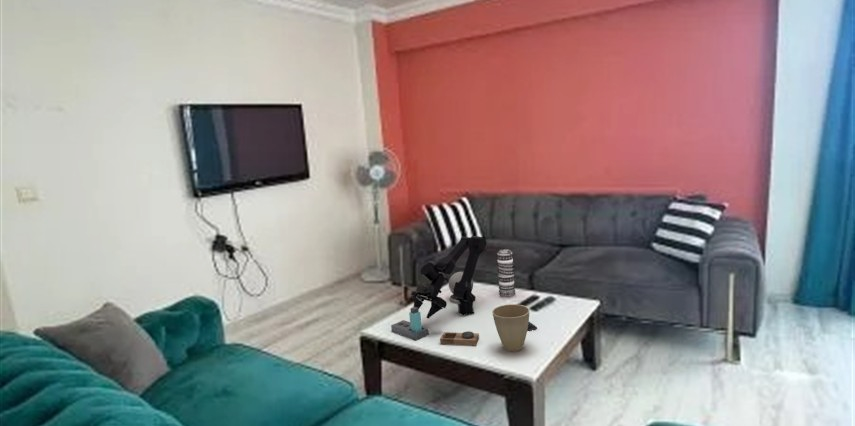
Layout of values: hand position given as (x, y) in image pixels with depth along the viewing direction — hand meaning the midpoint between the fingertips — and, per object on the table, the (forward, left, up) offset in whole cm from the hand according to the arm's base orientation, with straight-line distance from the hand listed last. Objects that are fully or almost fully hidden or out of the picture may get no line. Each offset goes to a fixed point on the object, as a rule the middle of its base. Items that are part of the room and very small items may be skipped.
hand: (420, 315), depth 229 cm
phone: (-44, +9, -9) cm, 46 cm away
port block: (+5, -2, -8) cm, 10 cm away
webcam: (-28, -35, -9) cm, 46 cm away
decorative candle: (-51, -29, -8) cm, 60 cm away
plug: (+3, +2, -8) cm, 9 cm away
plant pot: (-32, +29, -8) cm, 44 cm away
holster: (-14, +15, -8) cm, 22 cm away
